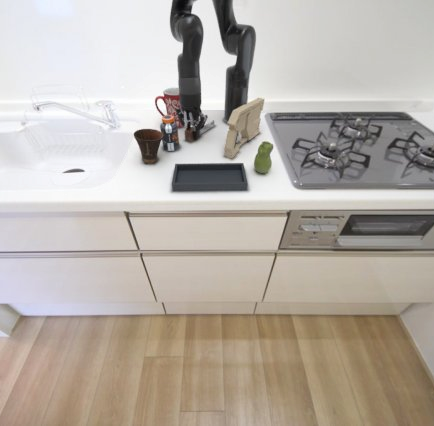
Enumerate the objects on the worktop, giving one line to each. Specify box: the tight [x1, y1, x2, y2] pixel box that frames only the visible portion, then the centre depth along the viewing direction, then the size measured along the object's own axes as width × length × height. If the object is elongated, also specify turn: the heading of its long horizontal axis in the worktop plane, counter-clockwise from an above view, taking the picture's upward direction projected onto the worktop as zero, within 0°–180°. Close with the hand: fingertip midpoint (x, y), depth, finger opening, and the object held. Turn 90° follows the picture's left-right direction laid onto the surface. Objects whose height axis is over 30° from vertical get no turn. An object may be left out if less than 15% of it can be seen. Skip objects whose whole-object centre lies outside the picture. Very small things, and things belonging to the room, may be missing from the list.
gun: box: [223, 97, 265, 159], centre depth 84 cm, size 24×3×15 cm, turn 148°
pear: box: [253, 140, 274, 174], centre depth 72 cm, size 6×5×10 cm
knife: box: [184, 120, 215, 144], centre depth 94 cm, size 17×3×4 cm, turn 143°
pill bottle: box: [159, 114, 180, 152], centre depth 83 cm, size 6×6×11 cm
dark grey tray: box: [171, 162, 249, 192], centre depth 72 cm, size 22×11×3 cm, turn 91°
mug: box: [154, 86, 185, 129], centre depth 97 cm, size 13×9×14 cm
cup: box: [133, 128, 163, 164], centre depth 78 cm, size 9×9×10 cm
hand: (192, 137), depth 92 cm, fingers closed on knife, 2 cm apart
